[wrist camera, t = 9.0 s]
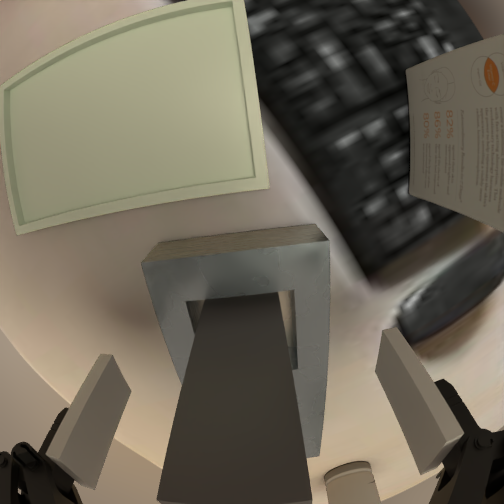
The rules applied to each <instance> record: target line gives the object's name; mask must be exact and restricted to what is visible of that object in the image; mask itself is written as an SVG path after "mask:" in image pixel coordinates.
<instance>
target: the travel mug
mask: <svg viewBox="0 0 504 504" xmlns="http://www.w3.org/2000/svg"><path fill="white" fill-rule="evenodd" d="M324 480H325V485H326V491H327V496H328V502H329V504H381V501H380V497H379V494H378V490H377V487H376V483H375V480H374V476H373V474H372V470H371V466H370V464H369V463H367V462H353V463H349V464H345V465H342V466H339V467H337V468H335V469H333V470H331V471H330V472H328V473H327V474H326V475H325V477H324Z"/></svg>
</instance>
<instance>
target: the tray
mask: <svg viewBox="0 0 504 504" xmlns="http://www.w3.org/2000/svg"><path fill="white" fill-rule="evenodd" d="M0 144H1V155H2V164H3V171H4V178H5V185H6V190H7V196H8V201H9V206H10V211H11V215H12V220H13V224H14V228H15V232H16V235H17V236H18V235H21V234H25V233H29V232H33V231H36V230H40V229H44V228H48V227H52V226H56V225H60V224H65V223H69V222H73V221H77V220H82V219H86V218H91V217H95V216H100V215H105V214H110V213H115V212H120V211H125V210H130V209H135V208H140V207H146V206H151V205H157V204H163V203H169V202H175V201H181V200H187V199H193V198H200V197H207V196H214V195H221V194H228V193H236V192H244V191H252V190H260V189H269V179H268V170H267V162H266V153H265V145H264V137H263V129H262V121H261V113H260V106H259V98H258V91H257V84H256V76H255V69H254V62H253V56H252V49H251V42H250V36H249V29H248V23H247V16H246V10H245V4H244V0H187V1H183V2H178V3H174V4H170V5H166V6H162V7H159V8H155V9H152V10H148V11H145V12H142V13H139V14H136V15H133V16H130V17H127V18H124V19H121V20H119V21H116V22H114V23H111V24H108V25H106V26H104V27H101V28H99V29H96V30H94V31H92V32H90V33H87V34H85V35H83V36H81V37H79V38H77V39H75V40H73V41H71V42H69V43H67V44H65V45H63V46H61V47H59V48H58V49H56V50H54V51H52V52H50V53H49V54H47V55H45V56H44V57H42V58H40V59H39V60H37V61H35V62H34V63H32V64H31V65H29V66H27V67H26V68H24V69H23V70H21V71H20V72H18V73H17V74H16V75H14V76H13V77H11V78H10V79H9V80H7V81H6V82H4V83H3V84H2V85H0Z"/></svg>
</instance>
